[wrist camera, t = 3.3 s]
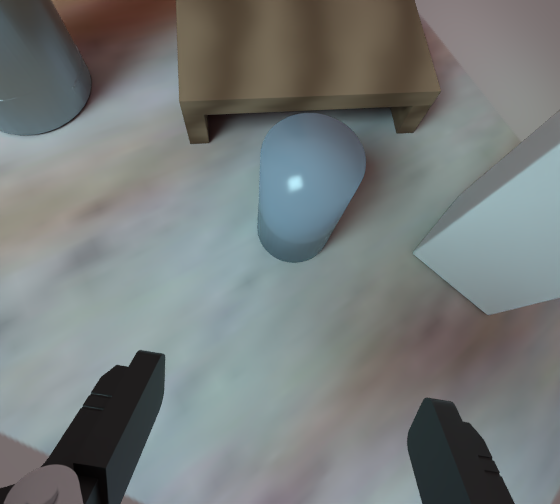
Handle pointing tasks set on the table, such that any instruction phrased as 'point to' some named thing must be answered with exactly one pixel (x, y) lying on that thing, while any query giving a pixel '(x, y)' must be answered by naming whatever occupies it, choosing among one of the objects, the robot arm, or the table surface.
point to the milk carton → (505, 229)
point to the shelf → (302, 59)
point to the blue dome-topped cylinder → (306, 183)
